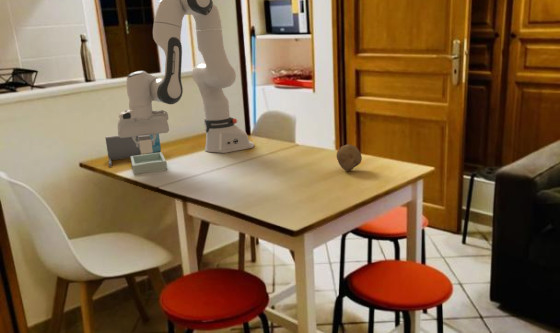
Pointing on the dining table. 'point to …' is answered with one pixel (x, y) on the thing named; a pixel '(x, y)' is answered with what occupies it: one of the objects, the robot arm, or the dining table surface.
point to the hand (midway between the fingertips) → (145, 145)
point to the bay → (121, 148)
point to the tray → (148, 163)
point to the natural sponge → (348, 157)
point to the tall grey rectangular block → (145, 144)
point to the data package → (156, 144)
